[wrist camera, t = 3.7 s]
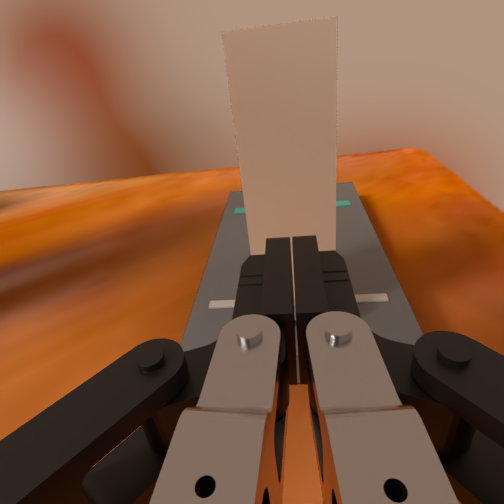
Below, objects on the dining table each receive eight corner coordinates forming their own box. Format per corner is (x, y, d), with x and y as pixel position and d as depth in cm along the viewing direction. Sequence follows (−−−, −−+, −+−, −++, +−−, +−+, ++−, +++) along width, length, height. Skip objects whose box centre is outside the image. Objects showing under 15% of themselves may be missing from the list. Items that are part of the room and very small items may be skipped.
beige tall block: (248, 321, 19) (205, 33, 12) (253, 277, 22) (221, 33, 16) (346, 318, 18) (355, 13, 12) (336, 273, 22) (338, 17, 15)
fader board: (184, 385, 19) (175, 356, 18) (233, 209, 38) (230, 190, 37) (425, 381, 17) (432, 350, 16) (351, 201, 36) (352, 181, 35)
